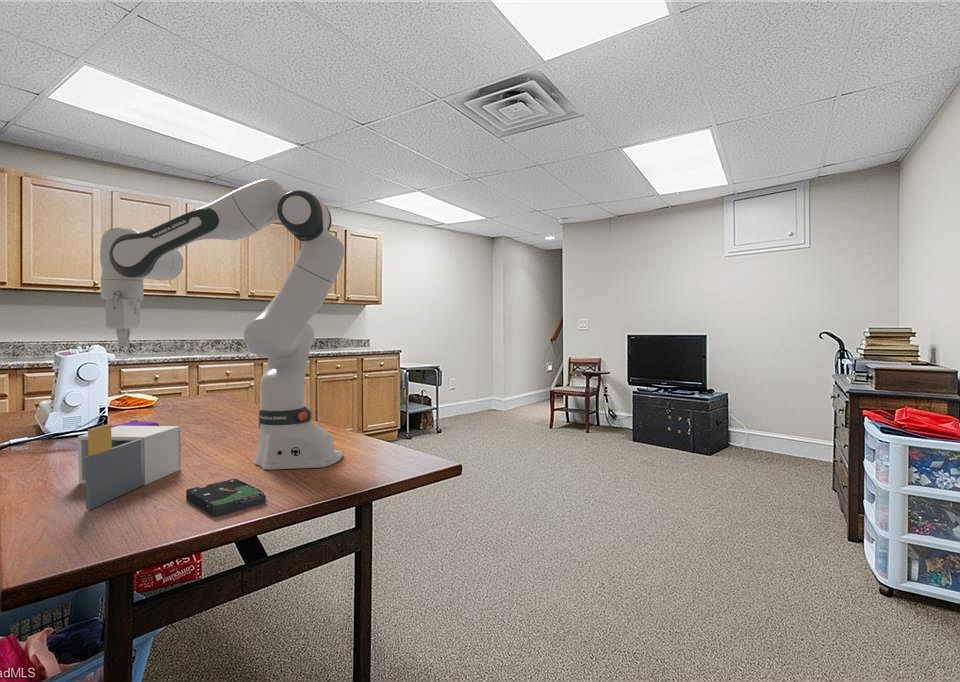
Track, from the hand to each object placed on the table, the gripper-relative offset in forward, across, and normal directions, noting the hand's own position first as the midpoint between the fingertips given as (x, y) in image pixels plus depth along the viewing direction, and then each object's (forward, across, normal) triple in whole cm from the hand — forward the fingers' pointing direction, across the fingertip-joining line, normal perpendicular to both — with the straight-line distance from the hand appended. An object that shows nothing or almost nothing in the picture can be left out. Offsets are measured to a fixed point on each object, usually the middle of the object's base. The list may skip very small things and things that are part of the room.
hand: (123, 346), depth 125 cm
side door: (+31, -27, -3) cm, 41 cm away
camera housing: (+31, -11, -3) cm, 33 cm away
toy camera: (+31, +8, -2) cm, 33 cm away
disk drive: (+32, -40, -24) cm, 56 cm away
